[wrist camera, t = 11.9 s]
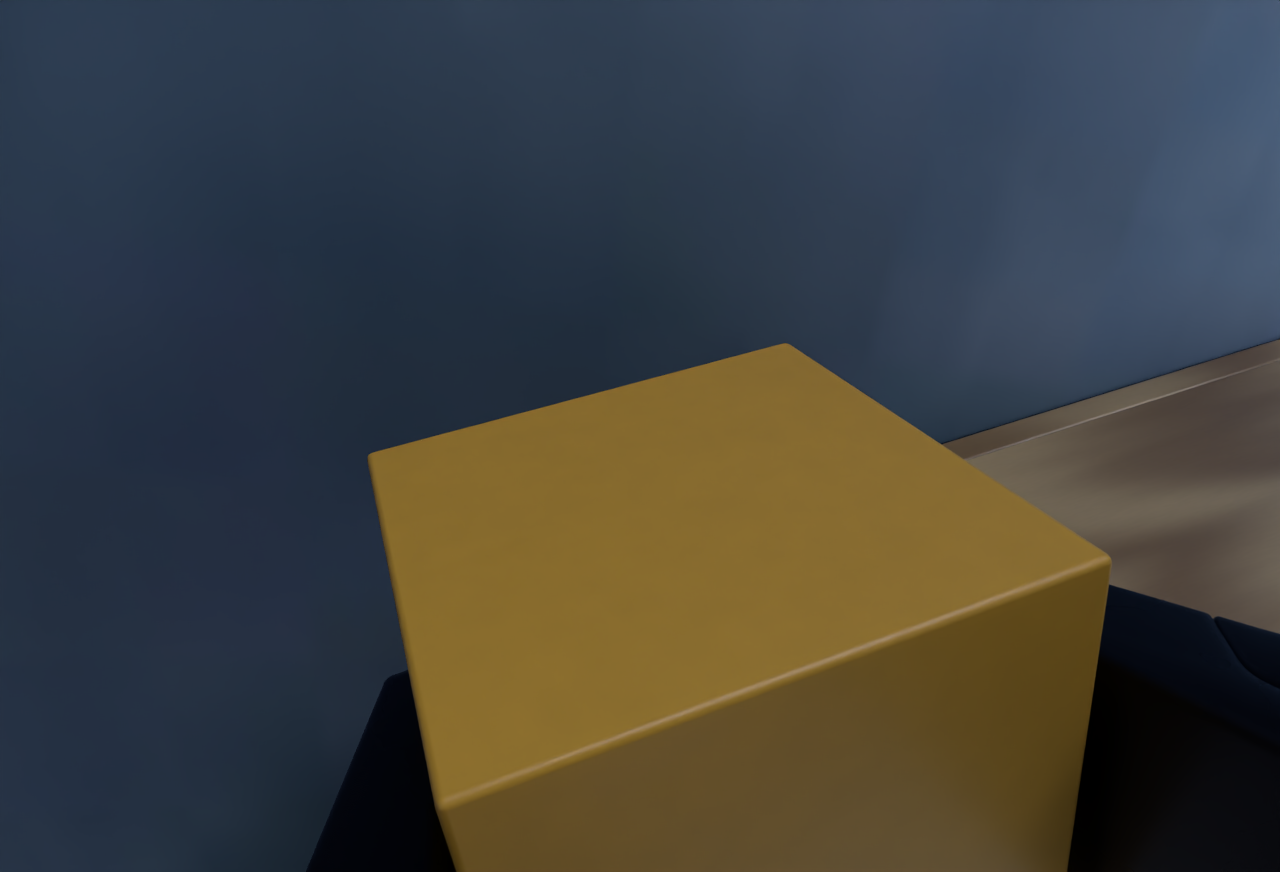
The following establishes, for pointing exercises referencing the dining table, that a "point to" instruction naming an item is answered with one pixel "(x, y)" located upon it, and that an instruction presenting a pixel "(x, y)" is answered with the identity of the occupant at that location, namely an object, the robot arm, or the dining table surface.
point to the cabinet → (1164, 481)
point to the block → (738, 635)
